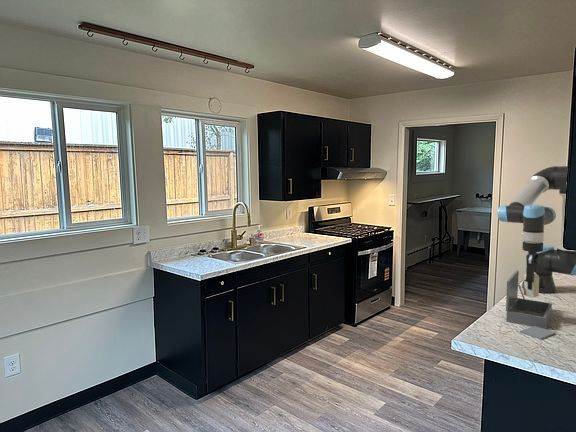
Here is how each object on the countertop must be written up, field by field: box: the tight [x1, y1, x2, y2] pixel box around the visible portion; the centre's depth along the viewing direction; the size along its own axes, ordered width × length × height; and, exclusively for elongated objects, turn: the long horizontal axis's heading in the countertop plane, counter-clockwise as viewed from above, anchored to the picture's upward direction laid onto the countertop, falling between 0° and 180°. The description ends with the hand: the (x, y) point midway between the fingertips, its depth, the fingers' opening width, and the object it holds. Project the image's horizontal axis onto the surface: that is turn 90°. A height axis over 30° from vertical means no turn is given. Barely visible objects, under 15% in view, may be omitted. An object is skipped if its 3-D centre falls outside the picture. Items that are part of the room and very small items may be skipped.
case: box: [505, 270, 553, 330], centre depth 173 cm, size 23×14×18 cm, turn 141°
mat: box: [519, 326, 556, 340], centre depth 157 cm, size 10×8×1 cm
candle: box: [523, 272, 540, 298], centre depth 172 cm, size 6×6×10 cm
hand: (531, 294), depth 173 cm, fingers closed on candle, 5 cm apart
